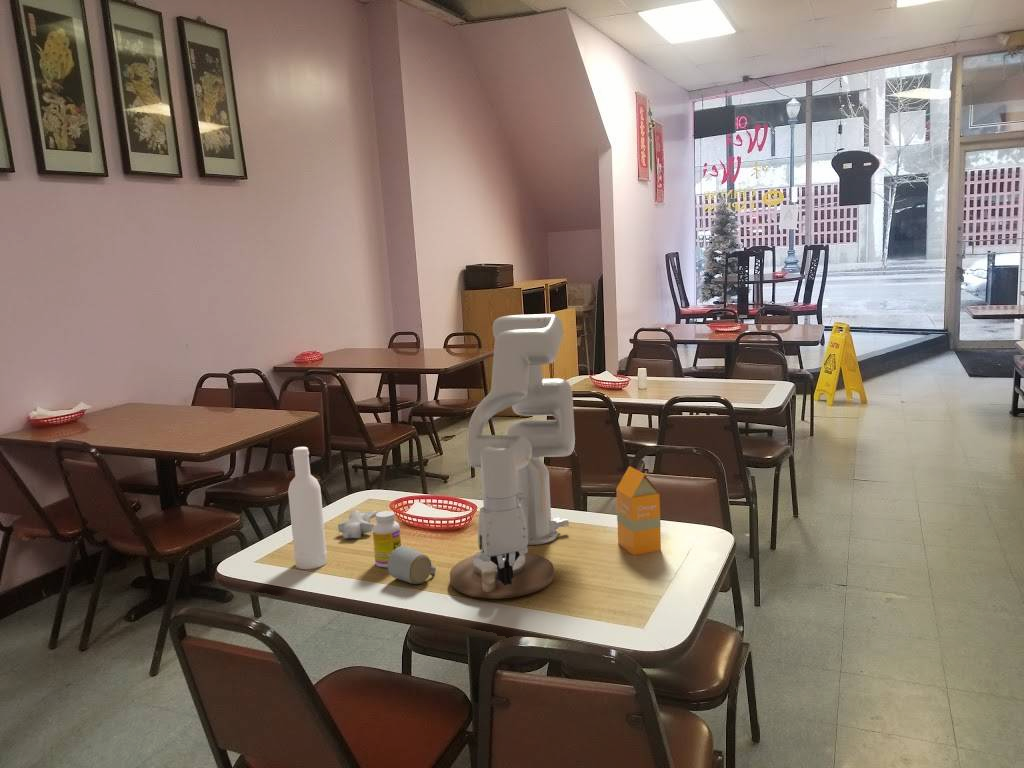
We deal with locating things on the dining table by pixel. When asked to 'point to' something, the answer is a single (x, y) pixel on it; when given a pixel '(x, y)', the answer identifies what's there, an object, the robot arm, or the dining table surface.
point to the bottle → (306, 514)
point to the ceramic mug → (410, 565)
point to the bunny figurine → (357, 524)
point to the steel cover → (482, 565)
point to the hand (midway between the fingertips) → (505, 582)
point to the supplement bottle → (385, 537)
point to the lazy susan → (488, 587)
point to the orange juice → (638, 513)
